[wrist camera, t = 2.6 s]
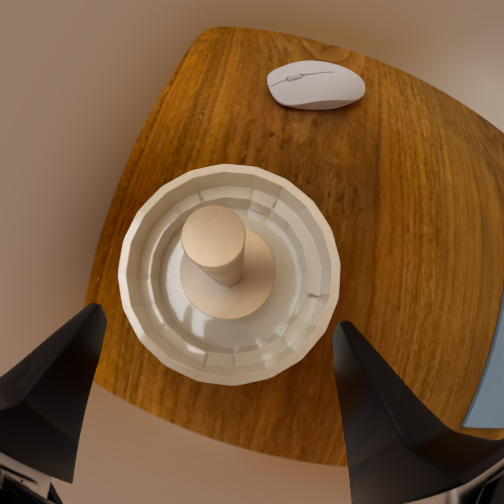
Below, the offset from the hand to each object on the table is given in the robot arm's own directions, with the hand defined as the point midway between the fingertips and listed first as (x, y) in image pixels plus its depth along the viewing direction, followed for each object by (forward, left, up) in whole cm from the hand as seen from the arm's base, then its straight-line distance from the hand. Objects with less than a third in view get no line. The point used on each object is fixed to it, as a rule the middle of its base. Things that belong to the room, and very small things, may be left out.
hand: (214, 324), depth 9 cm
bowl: (+2, +1, -10) cm, 10 cm away
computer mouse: (+22, +1, -10) cm, 25 cm away
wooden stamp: (+2, +1, -9) cm, 10 cm away
